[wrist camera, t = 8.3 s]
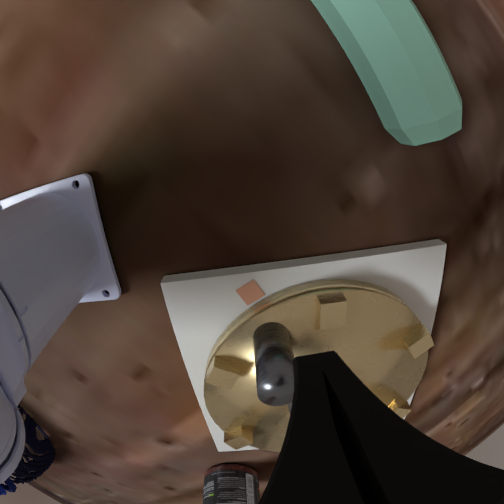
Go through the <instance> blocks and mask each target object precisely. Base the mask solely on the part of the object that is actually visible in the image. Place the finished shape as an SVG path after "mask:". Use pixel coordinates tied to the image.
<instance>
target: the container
mask: <svg viewBox="0 0 504 504" xmlns="http://www.w3.org/2000/svg"><path fill="white" fill-rule="evenodd" d="M311 1H312V3H313V4H314V5H315V7H316V8H317V10H318V11H319V12H320V14H321V15H322V17H323V18H324V20H325V21H326V23H327V24H328V26H329V27H330V29H331V30H332V32H333V34H334V35H335V37H336V38H337V40H338V42H339V43H340V45H341V46H342V48H343V50H344V51H345V53H346V55H347V56H348V58H349V60H350V62H351V63H352V65H353V67H354V69H355V70H356V72H357V74H358V76H359V78H360V80H361V81H362V83H363V85H364V87H365V89H366V91H367V93H368V95H369V97H370V99H371V101H372V103H373V105H374V107H375V109H376V111H377V113H378V115H379V117H380V120H381V122H382V124H383V126H384V128H385V129H386V130H387V131H388V132H389V133H390V134H391V135H392V136H393V137H394V138H395V139H396V140H397V141H398V142H399V143H400V144H406V145H412V146H417V145H421V144H425V143H430V142H434V141H439V140H442V139H444V138H446V137H448V136H450V135H452V134H453V133H455V132H457V131H459V130H461V129H462V99H461V97H460V94H459V92H458V89H457V87H456V84H455V82H454V79H453V77H452V75H451V72H450V70H449V68H448V66H447V64H446V61H445V59H444V57H443V55H442V53H441V51H440V49H439V47H438V45H437V43H436V41H435V39H434V37H433V35H432V34H431V32H430V30H429V28H428V26H427V24H426V23H425V21H424V19H423V17H422V16H421V14H420V12H419V11H418V9H417V7H416V6H415V4H414V3H413V1H412V0H311Z"/></svg>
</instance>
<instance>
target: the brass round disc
mask: <svg viewBox="0 0 504 504" xmlns="http://www.w3.org/2000/svg"><path fill="white" fill-rule="evenodd" d="M432 346H434V343H433V340H432V338H431V335H430V332H429V331H428V330H427V329H426V327H425V326H424V325H423V324H422V323H421V321H420V320H419V319H418V318H417V316H416V315H415V314H414V313H413V311H412V310H411V309H410V308H409V307H408V306H407V304H406V303H405V302H404V301H403V300H402V299H401V298H399V297H398V296H397V295H396V294H394V293H393V292H391V291H389V290H387V289H385V288H384V287H381V286H378V285H375V284H372V283H368V282H363V281H358V280H345V279H335V280H322V281H316V282H311V283H305V284H302V285H298V286H295V287H291V288H288V289H285V290H283V291H281V292H278V293H276V294H273V295H271V296H269V297H267V298H265V299H263V300H262V301H260V302H258V303H256V304H254V305H253V306H251V307H250V308H249V309H247V310H246V311H244V312H243V313H242V314H240V315H239V316H238V317H237V318H236V319H235V320H234V321H233V322H231V323H230V324H229V325H228V326H227V328H226V329H225V330H224V331H223V332H222V334H221V335H220V336H219V337H218V339H217V341H216V342H215V344H214V346H213V347H212V350H211V352H210V355H209V357H208V360H207V365H206V370H205V378H204V400H205V405H206V408H207V410H208V412H209V414H210V416H211V418H212V419H213V420H214V422H215V423H216V424H217V425H218V426H219V427H220V428H221V429H222V430H223V431H224V443H225V444H227V445H229V446H230V447H232V448H233V449H235V450H237V449H240V448H242V447H245V446H248V445H249V446H252V447H255V448H258V449H263V450H268V451H274V452H280V451H281V448H282V445H283V442H284V438H285V435H286V431H287V427H288V422H289V418H290V414H291V408H292V401H293V394H294V377H293V359H294V358H295V357H297V356H304V355H310V354H316V353H322V352H327V351H333V350H334V351H335V352H337V354H338V355H339V356H340V357H341V359H342V360H343V361H344V362H345V363H346V365H347V366H348V367H349V368H350V369H351V370H352V371H353V372H354V374H355V375H356V376H357V377H358V378H359V379H360V380H361V381H362V382H363V383H364V384H365V385H366V386H367V387H368V388H369V389H370V390H371V391H372V392H373V393H374V394H375V395H376V396H377V397H378V398H379V399H380V400H381V401H382V402H383V403H384V404H386V405H387V406H388V407H389V408H390V409H391V410H393V411H394V412H395V413H396V414H397V415H399V416H400V417H401V418H402V419H403V418H404V417H405V416H406V415H407V414H408V413H409V412H410V411H411V410H412V409H411V407H410V406H409V404H408V402H407V400H408V399H409V398H410V397H411V395H412V394H413V392H414V391H415V390H416V388H417V386H418V384H419V383H420V381H421V379H422V376H423V374H424V371H425V368H426V364H427V360H428V350H429V349H430V348H431V347H432Z"/></svg>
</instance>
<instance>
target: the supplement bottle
mask: <svg viewBox="0 0 504 504" xmlns="http://www.w3.org/2000/svg"><path fill="white" fill-rule="evenodd" d="M259 501H260V494H259V480H258V475H257V472H256V471H255V470H253V469H252V468H250V467H247V466H244V465H239V464H221V465H217V466H214V467H211V468H210V469H208V470H207V471H206V472H205V478H204V491H203V504H258V503H259Z"/></svg>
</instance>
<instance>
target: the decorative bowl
mask: <svg viewBox="0 0 504 504" xmlns="http://www.w3.org/2000/svg"><path fill="white" fill-rule="evenodd" d="M17 407H19V408H20V410H19V412H20V414H21V416H22V414H23V412H24V414H26V412H25V411H24V410H23V408H21V407H20V406H19V405H18V406H17ZM36 426H37V428H38V429H39V430H40V432H41V433H42V434H43V435H44V438H45V440H40V441H39V440H38V439H37V437H36V436H37V435H36V433H37V432H36V429H35V428H36ZM24 427H25V439H26V441H25V442H26V443H27V444H28V445H29V447H30V448H31V449H32V450H33V451H34V452H35V453H38V454H43V455H42V456H38V455H36V456H35V455H34V454H33V455H32V454H31V452H30V451H29V450H28V449H27V448H26V447H25V446H24V449H25V451H24V452H25V453H26V454H27V455H28V456H27V455H25V454H24V453H23V454H22V456H23V457H24V458H25V459H26V461H27V462H28V463H26V462H24V459H23V457H21V460H20V462H19V464H18V467H17V468H16V469H15V470H14V472H15V473H16V474H15V473H12V474H11V475H13V476H16V478H14V477H12V476H9V477H10V478H12V479H14V480H15V481H14V480H10V478H9V477H8V478H7V479H6V480H5V481H4V482H5V484H6V485H4V484H2V483H1V484H0V495H3V494H4V495H6V491H9V492H15V490H16V485H15V484H14V483H16V484H18V483H23V484H24V482H25V483H26V482H31V480H32V481H33V479H35V480H36V478H37V477H39V476H41V474H43V472H44V471H46V469H47V470H48V468H49V466H51V463H53V460H54V458H55V452H54V451H55V449H54V448H53V447H52V446H53V445H52V444H51V442H50V440H49V438H48V436H47V435H46V434H45V433H44V431H43V430H42V429H41V428H40V426H39V425H37V424H36V423H35V421H34V420H33V419H31V418H30V416H29V415H28V414H26V419H25V421H24ZM47 451H48V453H47ZM45 453H46V455H45ZM28 457H30V458H33V461H32V460H30V461H29V458H28ZM42 464H43V465H42ZM25 467H26V468H25ZM31 471H34V472H31ZM29 472H30V473H29ZM17 477H18V478H17ZM20 477H21V478H20ZM23 477H24V478H23ZM22 478H23V479H22ZM20 480H21V481H20ZM5 490H6V491H5Z"/></svg>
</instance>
